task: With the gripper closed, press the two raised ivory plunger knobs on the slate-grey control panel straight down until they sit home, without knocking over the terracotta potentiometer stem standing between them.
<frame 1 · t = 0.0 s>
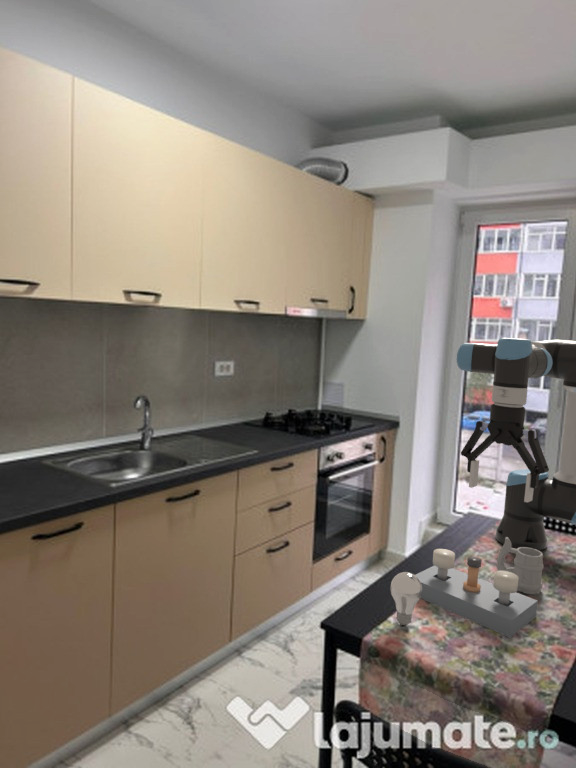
hand: (499, 493, 134), 28 cm above the table, fingers open, 13 cm apart
mug: (517, 586, 150), on the table
light bulb: (403, 625, 126), on the table
panel: (470, 604, 138), on the table
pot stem: (471, 588, 137), point 4 cm above the table, touching panel
knob 1: (443, 566, 142), point 7 cm above the table, slide at 3.0 cm
knob 2: (504, 589, 131), point 7 cm above the table, slide at 3.0 cm
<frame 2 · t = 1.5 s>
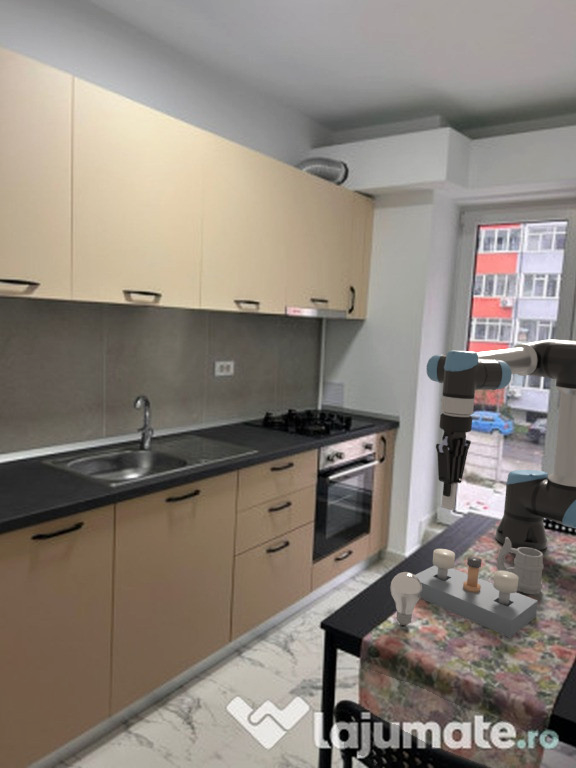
hand: (447, 508, 141), 22 cm above the table, fingers closed
nothing on the table moved.
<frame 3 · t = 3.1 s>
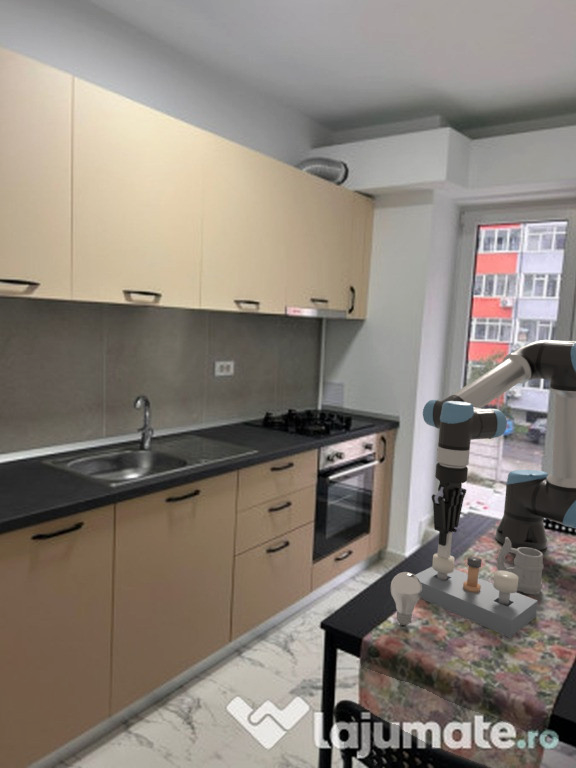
hand: (443, 556, 142), 9 cm above the table, fingers closed
knob 1: (442, 570, 143), point 6 cm above the table, slide at 1.8 cm, touching gripper
everything else where it was.
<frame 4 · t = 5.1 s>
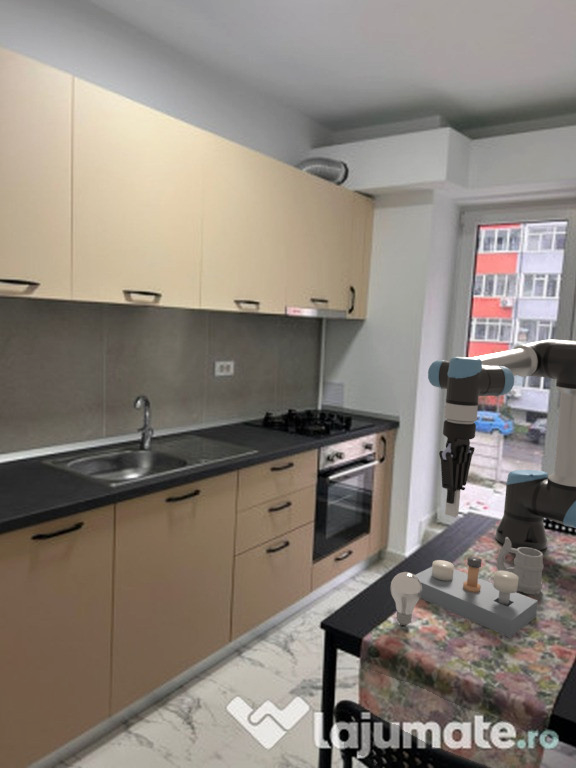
hand: (451, 515, 140), 20 cm above the table, fingers closed
knob 1: (442, 577, 143), point 4 cm above the table, slide at 0.0 cm
everything else where it was.
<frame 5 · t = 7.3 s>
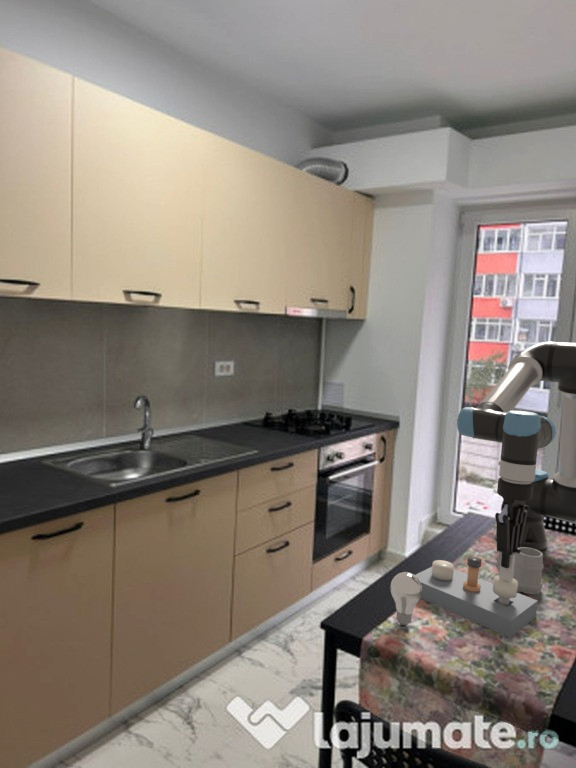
hand: (505, 579, 131), 9 cm above the table, fingers closed
knob 2: (504, 594, 131), point 6 cm above the table, slide at 1.8 cm, touching gripper
everything else where it was.
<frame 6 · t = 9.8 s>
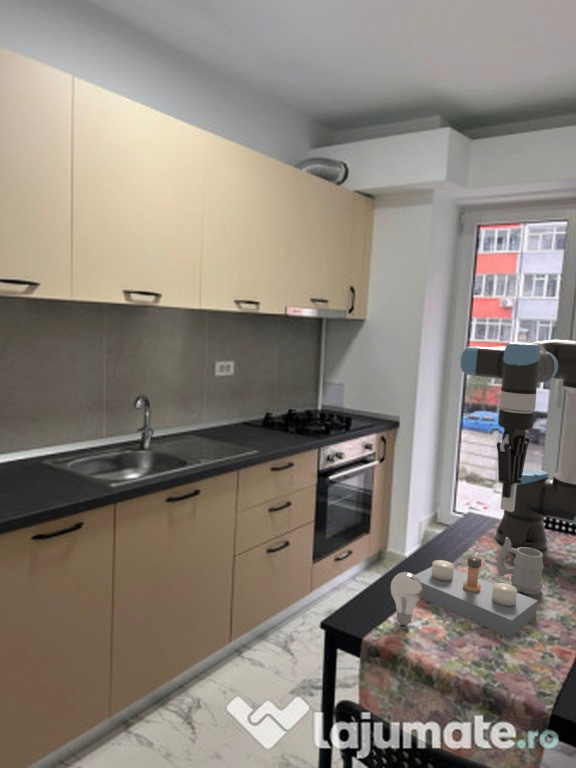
hand: (507, 509, 133), 25 cm above the table, fingers closed
knob 2: (503, 602, 132), point 4 cm above the table, slide at 0.0 cm
everything else where it was.
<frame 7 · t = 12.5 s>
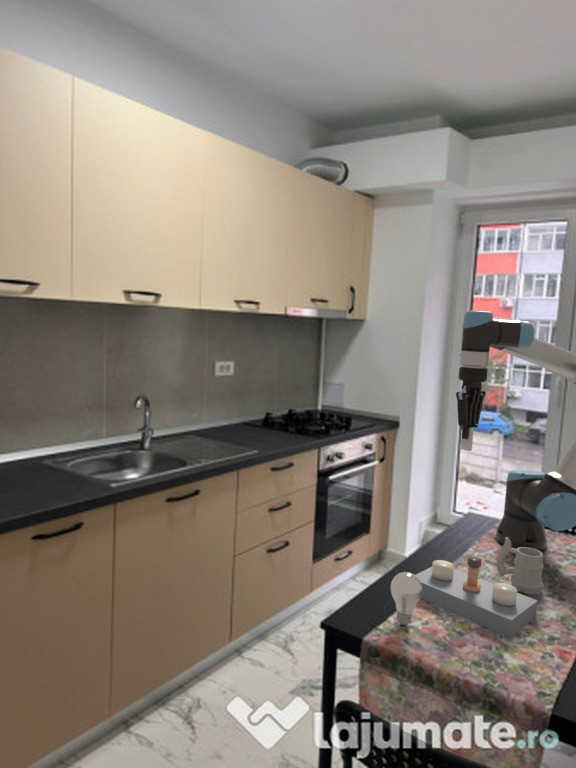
hand: (466, 449, 161), 32 cm above the table, fingers closed
nothing on the table moved.
at the end: knob 1 slide at 0.0 cm; knob 2 slide at 0.0 cm; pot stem moved 0.0 cm from its start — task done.
